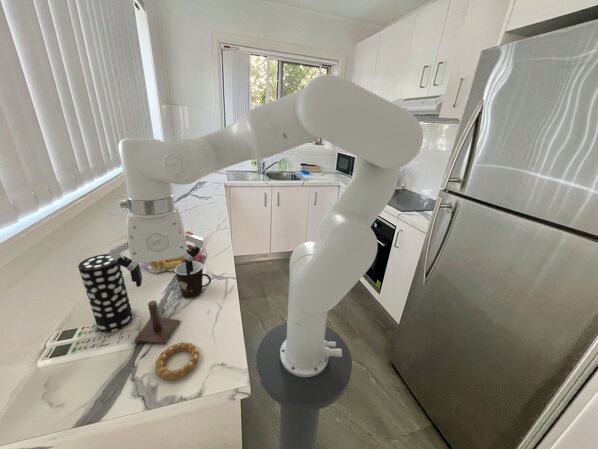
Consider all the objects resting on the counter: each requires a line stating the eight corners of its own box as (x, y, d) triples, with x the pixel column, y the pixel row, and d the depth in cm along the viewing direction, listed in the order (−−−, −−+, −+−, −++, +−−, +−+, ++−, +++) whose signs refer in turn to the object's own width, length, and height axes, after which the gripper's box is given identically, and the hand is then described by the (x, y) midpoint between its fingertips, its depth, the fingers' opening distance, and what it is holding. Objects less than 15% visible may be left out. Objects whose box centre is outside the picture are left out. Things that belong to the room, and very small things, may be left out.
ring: (205, 347, 64) (204, 342, 63) (189, 382, 55) (188, 376, 54) (169, 345, 64) (168, 340, 63) (147, 380, 55) (145, 374, 54)
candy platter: (208, 266, 101) (206, 246, 97) (142, 280, 90) (137, 258, 86) (199, 242, 121) (197, 225, 117) (144, 251, 110) (140, 232, 106)
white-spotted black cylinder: (100, 317, 72) (81, 257, 65) (133, 308, 76) (119, 251, 69) (95, 336, 65) (74, 273, 58) (132, 326, 69) (117, 265, 62)
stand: (179, 322, 72) (174, 294, 68) (164, 344, 64) (158, 314, 61) (152, 320, 72) (146, 292, 68) (134, 342, 64) (126, 312, 61)
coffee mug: (174, 292, 84) (170, 267, 81) (197, 282, 90) (195, 258, 87) (190, 308, 77) (186, 282, 74) (214, 296, 83) (212, 271, 80)
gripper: (92, 214, 41) (114, 297, 47) (202, 206, 48) (208, 279, 55) (102, 202, 47) (120, 277, 53) (198, 197, 55) (204, 263, 61)
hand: (165, 278), depth 54 cm, fingers open, 9 cm apart
